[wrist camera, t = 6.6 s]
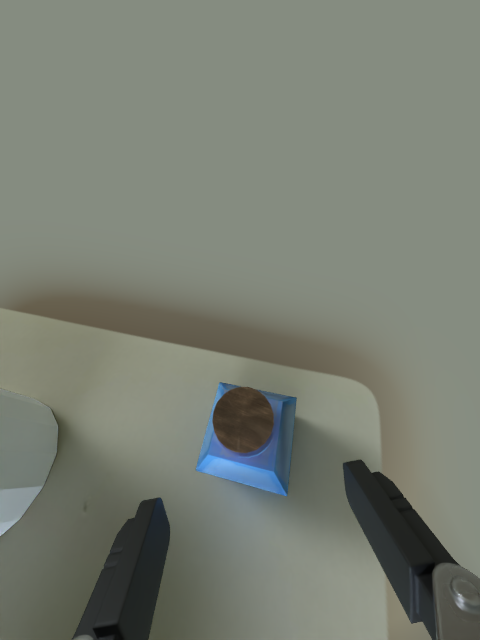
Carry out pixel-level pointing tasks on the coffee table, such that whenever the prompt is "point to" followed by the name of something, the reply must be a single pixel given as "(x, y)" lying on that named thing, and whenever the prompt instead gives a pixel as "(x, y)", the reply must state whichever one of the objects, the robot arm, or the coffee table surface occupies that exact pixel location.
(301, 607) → the coffee table surface
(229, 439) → the perfume bottle
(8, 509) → the white dome-topped cylinder
